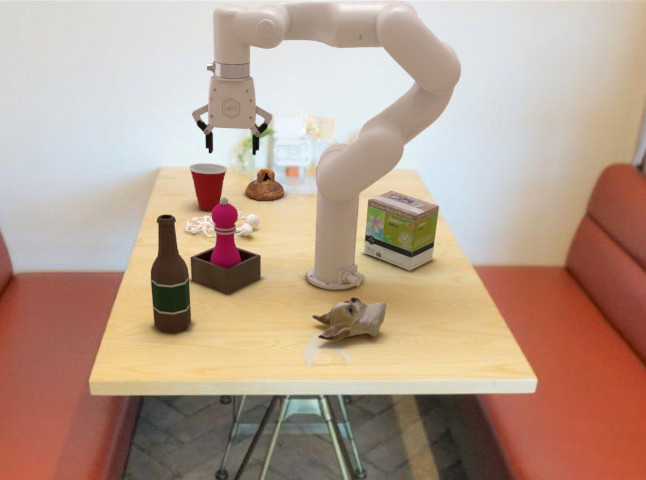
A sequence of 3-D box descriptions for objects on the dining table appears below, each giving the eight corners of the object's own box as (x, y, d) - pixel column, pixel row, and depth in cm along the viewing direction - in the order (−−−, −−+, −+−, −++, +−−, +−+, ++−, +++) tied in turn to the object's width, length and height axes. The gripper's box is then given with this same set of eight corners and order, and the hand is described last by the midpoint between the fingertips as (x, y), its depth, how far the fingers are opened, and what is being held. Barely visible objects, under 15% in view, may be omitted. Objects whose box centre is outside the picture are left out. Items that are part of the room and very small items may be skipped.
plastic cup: (236, 206, 233) (235, 165, 226) (213, 216, 225) (211, 174, 219) (206, 198, 238) (204, 158, 231) (183, 209, 230) (180, 167, 223)
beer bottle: (175, 337, 166) (168, 226, 153) (146, 327, 169) (137, 218, 156) (198, 323, 171) (193, 215, 158) (170, 313, 175) (163, 207, 162)
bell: (288, 190, 246) (288, 166, 242) (278, 202, 236) (278, 178, 232) (251, 186, 248) (251, 162, 244) (240, 198, 238) (240, 174, 234)
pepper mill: (227, 288, 186) (225, 205, 175) (204, 280, 190) (201, 198, 179) (247, 279, 191) (247, 197, 180) (224, 270, 195) (222, 190, 184)
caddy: (260, 278, 191) (260, 255, 188) (228, 294, 183) (227, 270, 180) (224, 265, 197) (223, 242, 194) (191, 280, 189) (190, 257, 186)
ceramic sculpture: (392, 306, 160) (317, 312, 159) (390, 344, 165) (318, 350, 164) (381, 284, 169) (311, 290, 168) (380, 321, 174) (312, 327, 173)
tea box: (362, 254, 205) (366, 198, 197) (386, 244, 211) (391, 189, 203) (410, 272, 197) (416, 213, 189) (433, 260, 203) (440, 203, 195)
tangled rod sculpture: (177, 241, 212) (176, 227, 210) (195, 218, 223) (193, 204, 221) (248, 247, 209) (247, 233, 206) (262, 224, 220) (261, 209, 217)
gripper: (188, 72, 165) (191, 156, 174) (272, 76, 165) (270, 159, 174) (193, 65, 171) (195, 146, 180) (273, 68, 171) (272, 149, 181)
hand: (232, 152), depth 177 cm, fingers open, 9 cm apart
